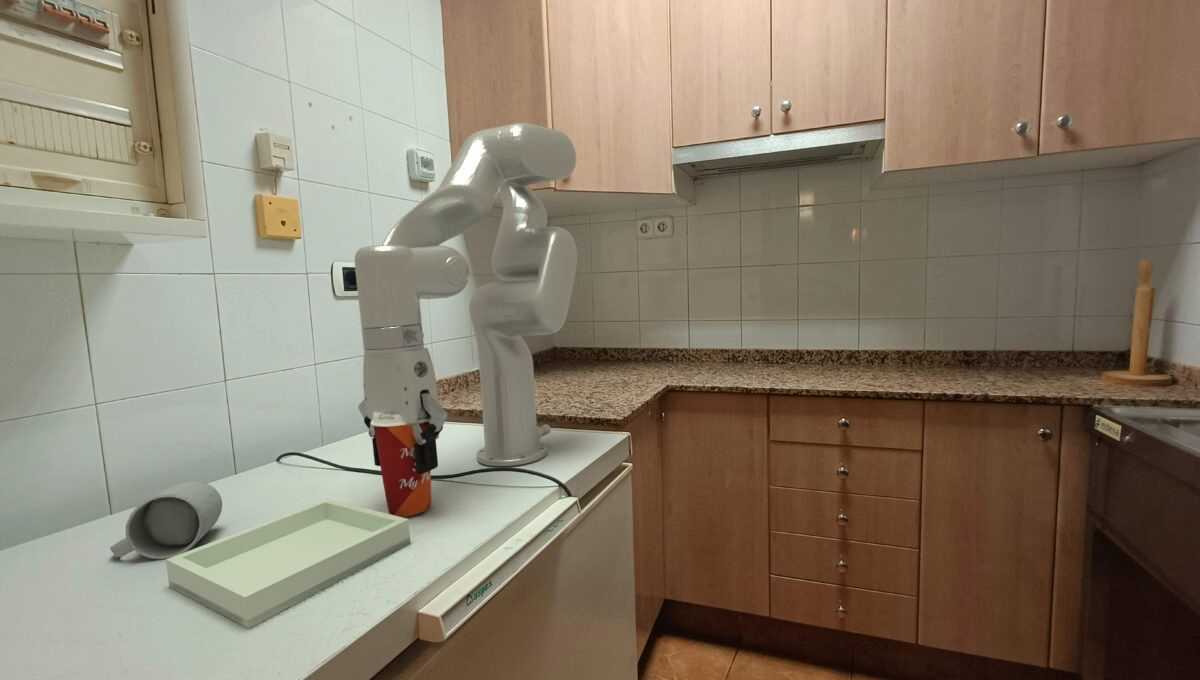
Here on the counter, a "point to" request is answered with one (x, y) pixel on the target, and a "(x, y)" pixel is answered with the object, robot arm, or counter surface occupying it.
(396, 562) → the counter surface
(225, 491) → the counter surface
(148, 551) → the ceramic mug
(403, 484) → the paper cup
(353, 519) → the sage tray
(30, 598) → the counter surface
